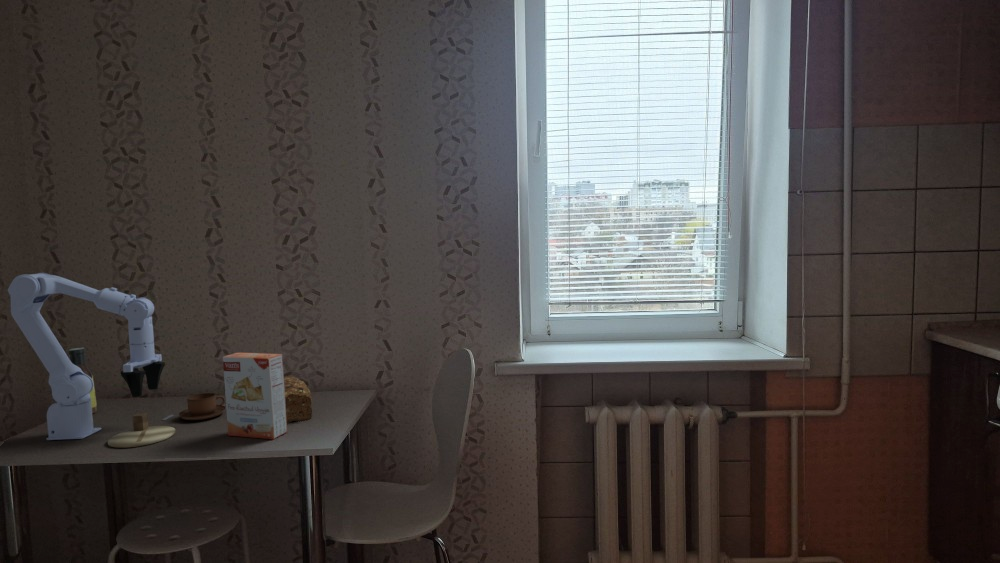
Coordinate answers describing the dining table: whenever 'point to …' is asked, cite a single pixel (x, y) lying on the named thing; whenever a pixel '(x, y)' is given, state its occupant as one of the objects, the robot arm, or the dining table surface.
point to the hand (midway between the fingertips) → (145, 392)
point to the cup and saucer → (202, 407)
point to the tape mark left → (167, 417)
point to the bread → (297, 400)
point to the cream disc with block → (141, 433)
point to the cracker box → (255, 395)
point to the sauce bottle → (79, 360)
